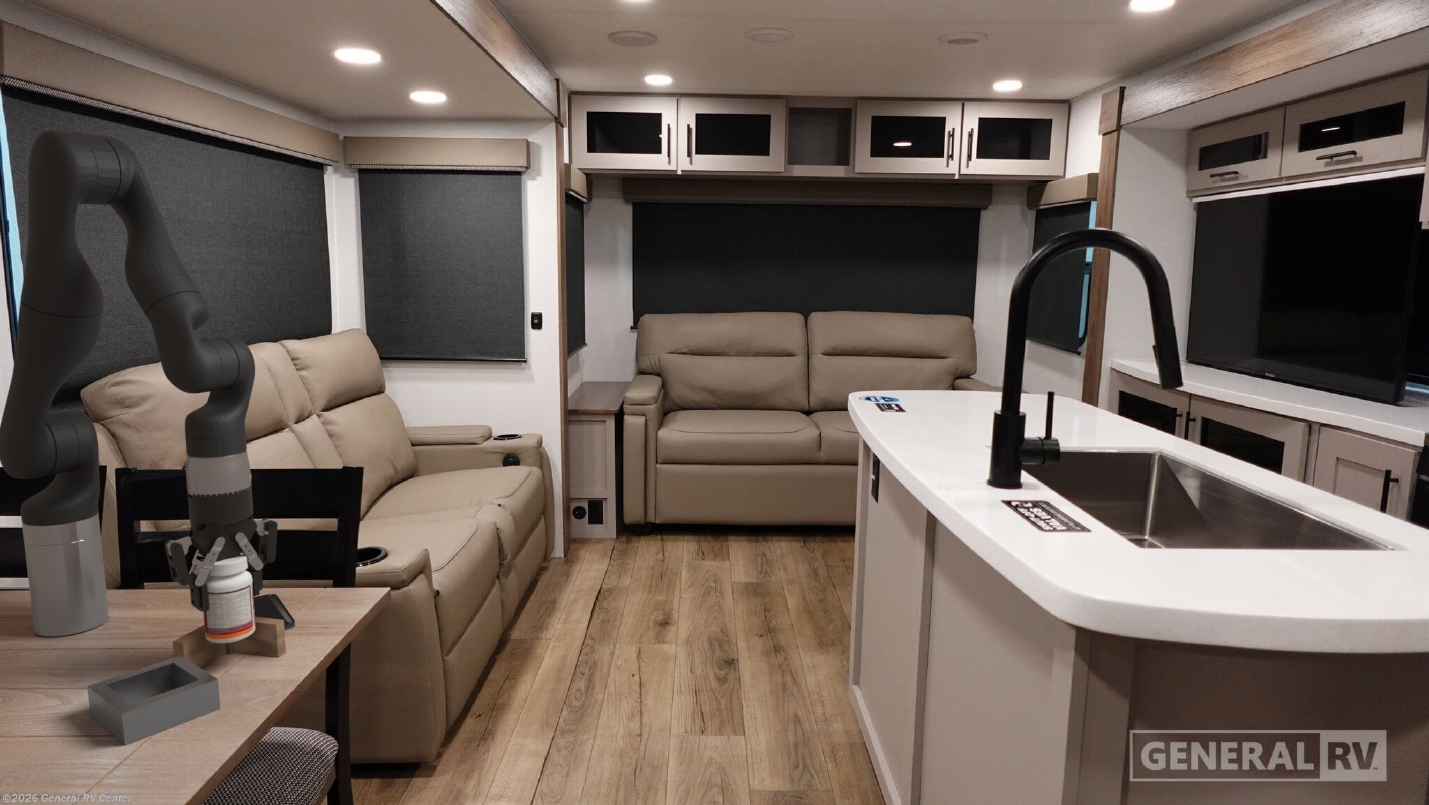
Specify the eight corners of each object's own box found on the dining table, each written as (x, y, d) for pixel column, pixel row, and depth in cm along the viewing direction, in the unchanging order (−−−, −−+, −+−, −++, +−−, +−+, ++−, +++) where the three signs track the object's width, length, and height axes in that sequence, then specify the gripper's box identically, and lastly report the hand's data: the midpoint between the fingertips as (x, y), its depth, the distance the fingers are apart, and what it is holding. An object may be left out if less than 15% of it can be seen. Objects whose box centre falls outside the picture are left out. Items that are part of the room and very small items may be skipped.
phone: (275, 592, 143) (296, 622, 132) (275, 599, 144) (296, 629, 132) (222, 603, 139) (239, 635, 127) (222, 610, 139) (239, 642, 127)
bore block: (90, 715, 106) (87, 686, 105) (183, 683, 114) (180, 655, 113) (124, 745, 99) (121, 713, 99) (220, 708, 108) (218, 679, 107)
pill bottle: (218, 626, 121) (212, 550, 119) (263, 625, 122) (258, 549, 120) (196, 645, 115) (190, 565, 113) (244, 644, 116) (238, 565, 114)
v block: (287, 655, 123) (284, 622, 122) (176, 679, 115) (173, 644, 114) (279, 634, 129) (277, 603, 128) (173, 655, 122) (170, 622, 121)
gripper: (259, 470, 123) (267, 581, 126) (148, 490, 111) (159, 611, 114) (286, 479, 119) (293, 593, 121) (173, 501, 107) (184, 626, 110)
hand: (228, 601), depth 118 cm, fingers closed on pill bottle, 6 cm apart
